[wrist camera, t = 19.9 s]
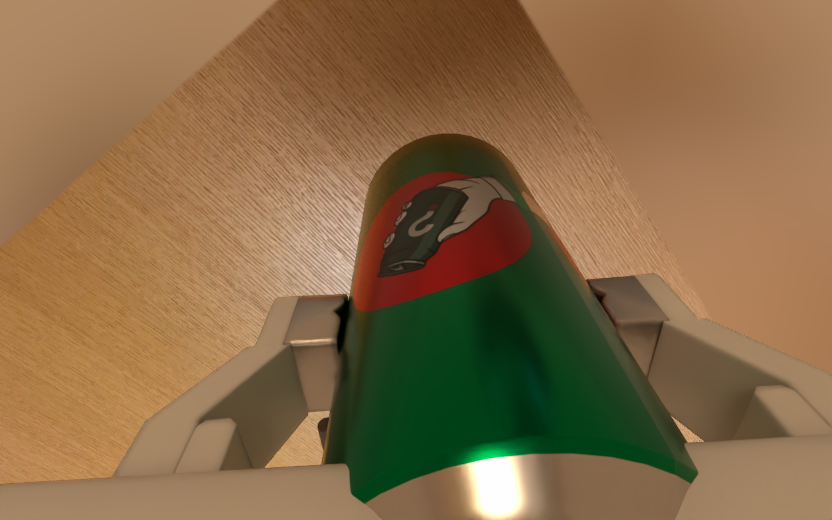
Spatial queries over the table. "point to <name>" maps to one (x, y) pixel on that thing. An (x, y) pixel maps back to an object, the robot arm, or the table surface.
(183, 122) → the table surface
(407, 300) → the soda can
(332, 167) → the table surface
